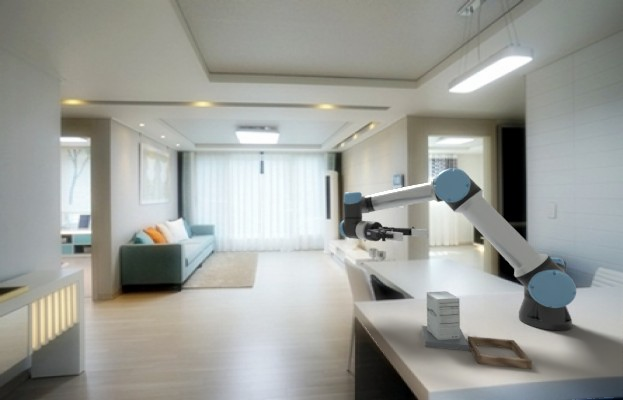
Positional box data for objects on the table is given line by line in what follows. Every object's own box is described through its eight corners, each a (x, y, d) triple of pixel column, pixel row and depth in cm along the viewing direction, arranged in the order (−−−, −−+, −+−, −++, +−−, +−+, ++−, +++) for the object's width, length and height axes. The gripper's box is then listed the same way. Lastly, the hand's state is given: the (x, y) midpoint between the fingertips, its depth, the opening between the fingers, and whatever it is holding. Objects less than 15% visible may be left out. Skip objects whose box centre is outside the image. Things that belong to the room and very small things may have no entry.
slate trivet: (460, 333, 104) (460, 328, 104) (468, 350, 92) (468, 345, 92) (422, 330, 107) (422, 325, 107) (425, 346, 95) (425, 341, 95)
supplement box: (426, 330, 103) (425, 291, 103) (448, 329, 103) (447, 290, 103) (437, 340, 95) (436, 298, 95) (461, 339, 96) (460, 297, 96)
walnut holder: (513, 346, 94) (513, 340, 94) (531, 368, 82) (531, 361, 82) (467, 342, 97) (467, 336, 97) (478, 363, 85) (477, 355, 85)
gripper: (391, 237, 132) (437, 242, 114) (346, 243, 118) (390, 250, 100) (391, 219, 132) (436, 222, 114) (345, 223, 117) (390, 226, 100)
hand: (415, 235), depth 107 cm, fingers open, 13 cm apart
